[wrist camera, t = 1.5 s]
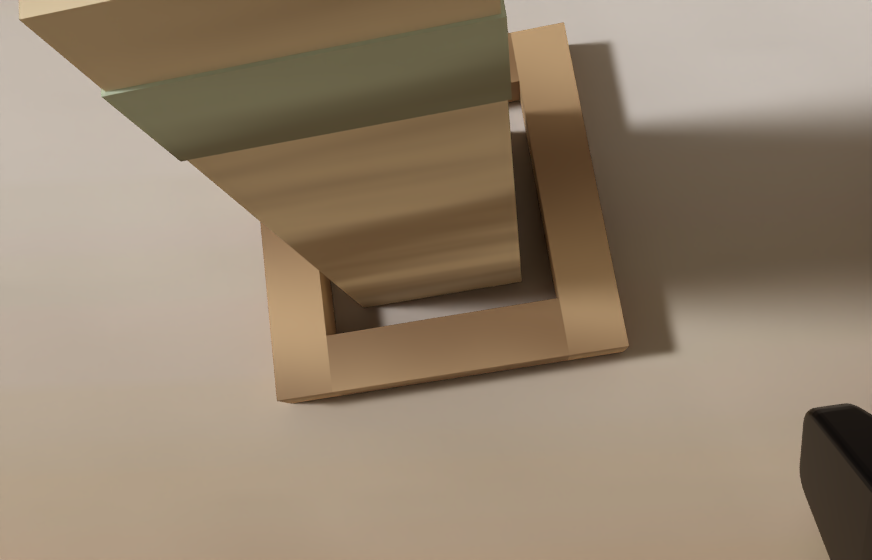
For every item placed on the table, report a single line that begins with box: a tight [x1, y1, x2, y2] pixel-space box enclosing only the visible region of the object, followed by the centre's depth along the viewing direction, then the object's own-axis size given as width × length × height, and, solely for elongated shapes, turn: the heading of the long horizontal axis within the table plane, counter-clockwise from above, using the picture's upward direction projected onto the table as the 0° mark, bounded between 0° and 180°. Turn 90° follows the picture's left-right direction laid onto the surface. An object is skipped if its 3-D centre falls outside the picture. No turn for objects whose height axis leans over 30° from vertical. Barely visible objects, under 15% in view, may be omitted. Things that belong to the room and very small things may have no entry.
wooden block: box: [19, 0, 522, 308], centre depth 15 cm, size 5×5×15 cm
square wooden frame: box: [260, 22, 629, 403], centre depth 21 cm, size 9×9×1 cm
